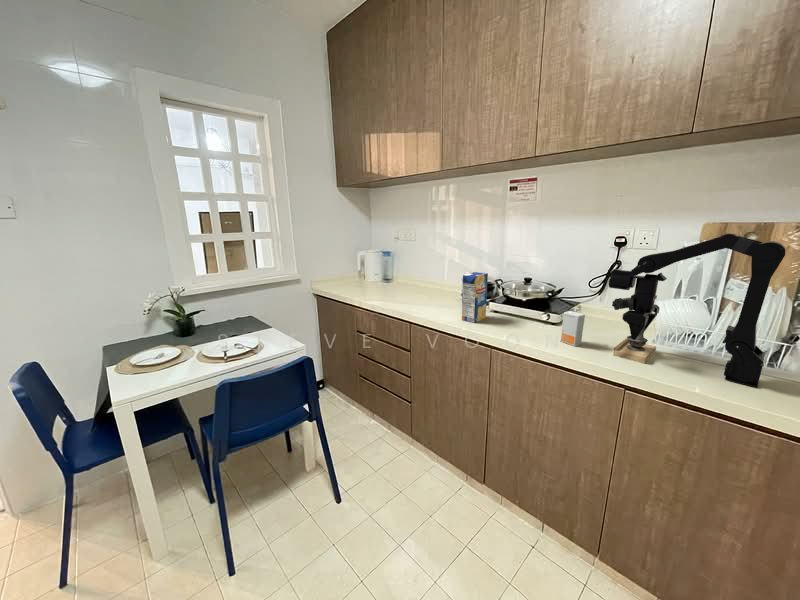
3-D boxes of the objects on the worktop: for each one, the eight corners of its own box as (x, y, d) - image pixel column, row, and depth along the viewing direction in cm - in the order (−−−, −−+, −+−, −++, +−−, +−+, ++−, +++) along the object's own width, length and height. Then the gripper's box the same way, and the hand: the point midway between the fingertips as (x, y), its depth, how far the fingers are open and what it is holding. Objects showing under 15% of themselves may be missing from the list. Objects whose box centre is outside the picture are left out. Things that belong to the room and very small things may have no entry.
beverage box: (461, 320, 151) (462, 275, 146) (473, 315, 159) (475, 272, 154) (474, 323, 147) (476, 276, 141) (485, 317, 154) (487, 273, 149)
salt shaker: (650, 350, 108) (656, 317, 105) (635, 352, 107) (641, 318, 104) (635, 344, 114) (640, 312, 111) (621, 345, 113) (626, 313, 110)
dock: (655, 351, 112) (656, 344, 111) (644, 363, 103) (645, 355, 103) (625, 344, 119) (626, 337, 118) (612, 355, 110) (614, 347, 109)
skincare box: (559, 341, 123) (563, 312, 120) (566, 339, 125) (570, 310, 122) (574, 346, 118) (578, 316, 115) (581, 344, 120) (585, 314, 117)
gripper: (625, 285, 117) (619, 324, 121) (608, 292, 106) (601, 336, 110) (663, 289, 109) (655, 332, 113) (648, 298, 97) (640, 345, 101)
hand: (637, 336), depth 109 cm, fingers open, 9 cm apart
